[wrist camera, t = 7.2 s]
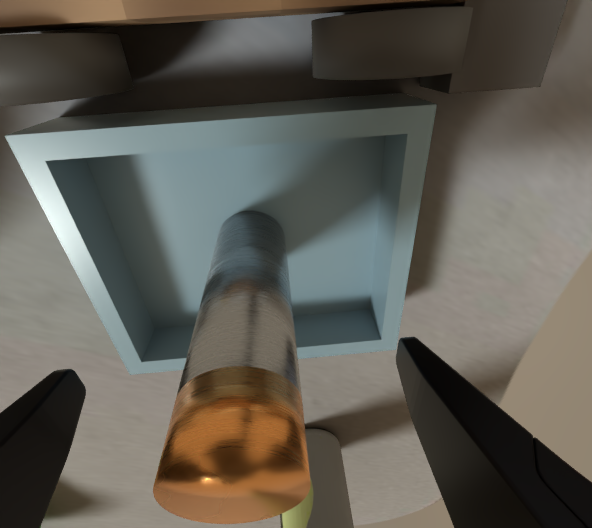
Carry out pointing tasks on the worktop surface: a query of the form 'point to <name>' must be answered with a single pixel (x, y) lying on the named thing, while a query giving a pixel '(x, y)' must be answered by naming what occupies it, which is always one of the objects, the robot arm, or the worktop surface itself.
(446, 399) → the robot arm
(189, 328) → the tray
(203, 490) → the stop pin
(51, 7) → the dolly
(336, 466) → the grey and yellow cylinder
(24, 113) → the worktop surface
